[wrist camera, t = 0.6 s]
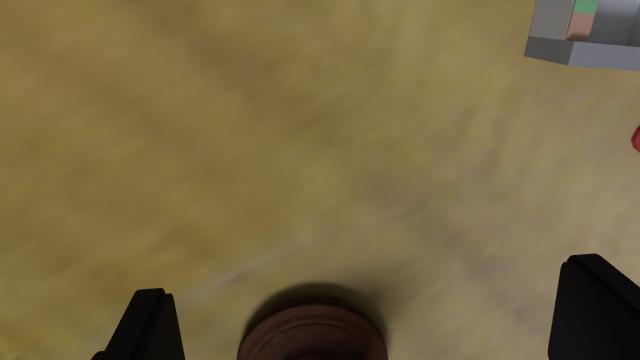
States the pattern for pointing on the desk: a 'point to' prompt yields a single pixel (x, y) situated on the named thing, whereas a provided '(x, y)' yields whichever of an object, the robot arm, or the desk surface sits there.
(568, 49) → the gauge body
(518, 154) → the desk surface
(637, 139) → the desk lamp
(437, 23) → the desk surface
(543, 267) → the desk surface
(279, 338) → the brown jointed stand
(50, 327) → the desk surface
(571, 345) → the robot arm
